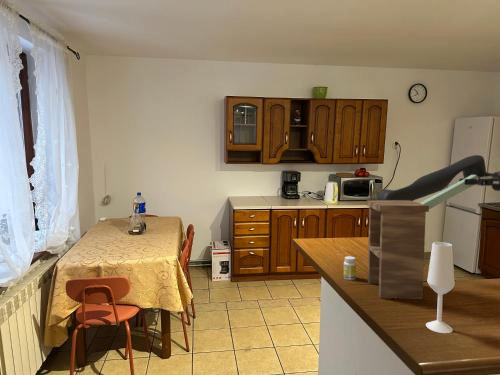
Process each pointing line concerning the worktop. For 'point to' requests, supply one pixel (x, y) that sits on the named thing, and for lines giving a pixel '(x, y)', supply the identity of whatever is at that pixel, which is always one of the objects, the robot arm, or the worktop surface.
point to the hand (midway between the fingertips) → (462, 181)
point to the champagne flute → (441, 280)
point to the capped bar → (448, 193)
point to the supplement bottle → (349, 268)
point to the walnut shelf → (397, 247)
